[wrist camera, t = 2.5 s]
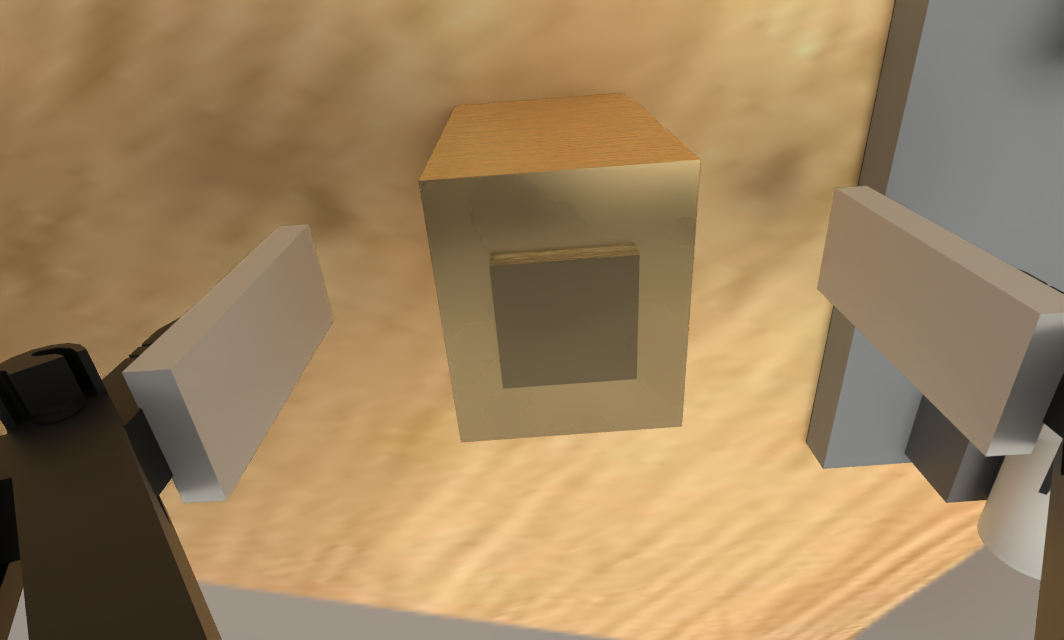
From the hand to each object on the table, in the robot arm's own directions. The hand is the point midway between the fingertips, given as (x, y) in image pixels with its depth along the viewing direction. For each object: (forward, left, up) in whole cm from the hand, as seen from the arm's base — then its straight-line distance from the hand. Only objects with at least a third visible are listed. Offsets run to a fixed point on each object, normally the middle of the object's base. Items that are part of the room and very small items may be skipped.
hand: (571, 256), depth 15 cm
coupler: (0, 0, -4) cm, 4 cm away
